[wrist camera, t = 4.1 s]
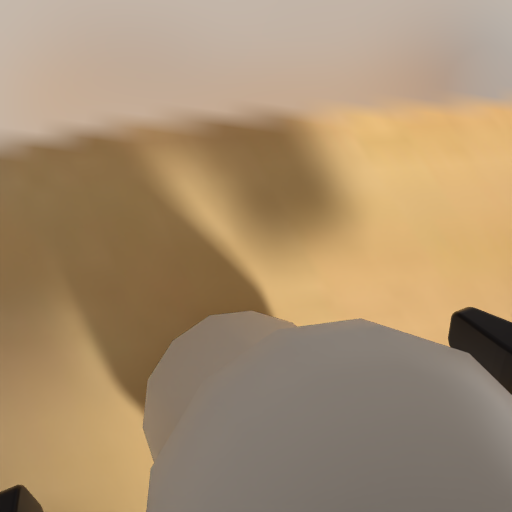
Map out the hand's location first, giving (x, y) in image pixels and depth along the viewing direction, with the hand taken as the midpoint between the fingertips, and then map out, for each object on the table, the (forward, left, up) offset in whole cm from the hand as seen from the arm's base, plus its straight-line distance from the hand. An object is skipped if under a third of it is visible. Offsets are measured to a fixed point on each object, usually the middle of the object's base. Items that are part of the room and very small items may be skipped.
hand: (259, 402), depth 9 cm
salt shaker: (0, -1, -7) cm, 8 cm away
